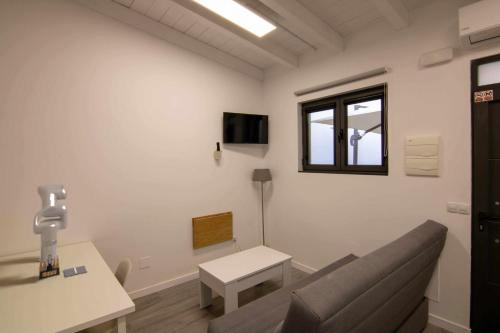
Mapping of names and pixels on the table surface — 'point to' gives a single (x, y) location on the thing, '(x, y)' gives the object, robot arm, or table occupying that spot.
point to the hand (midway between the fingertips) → (49, 270)
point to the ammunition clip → (44, 274)
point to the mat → (75, 271)
